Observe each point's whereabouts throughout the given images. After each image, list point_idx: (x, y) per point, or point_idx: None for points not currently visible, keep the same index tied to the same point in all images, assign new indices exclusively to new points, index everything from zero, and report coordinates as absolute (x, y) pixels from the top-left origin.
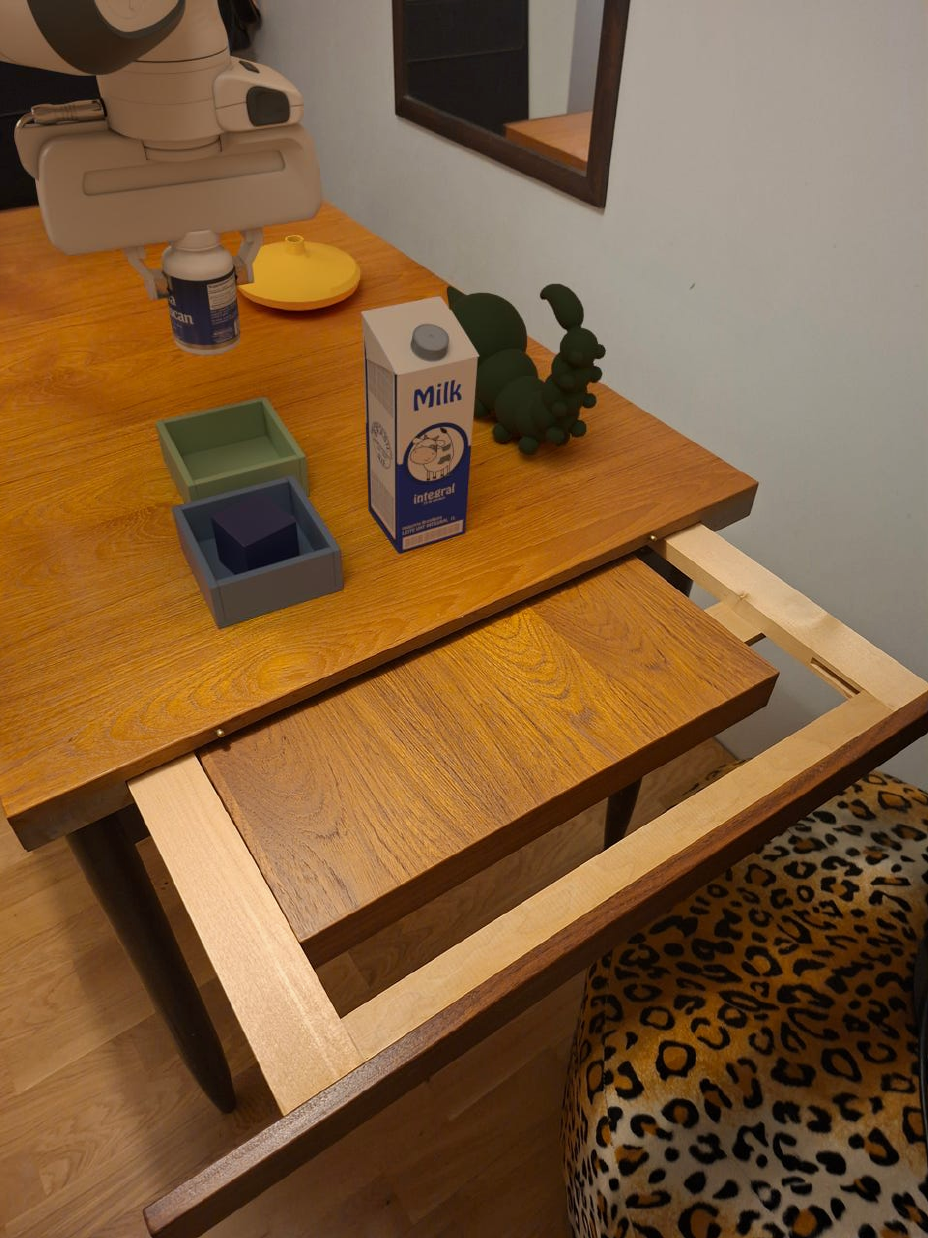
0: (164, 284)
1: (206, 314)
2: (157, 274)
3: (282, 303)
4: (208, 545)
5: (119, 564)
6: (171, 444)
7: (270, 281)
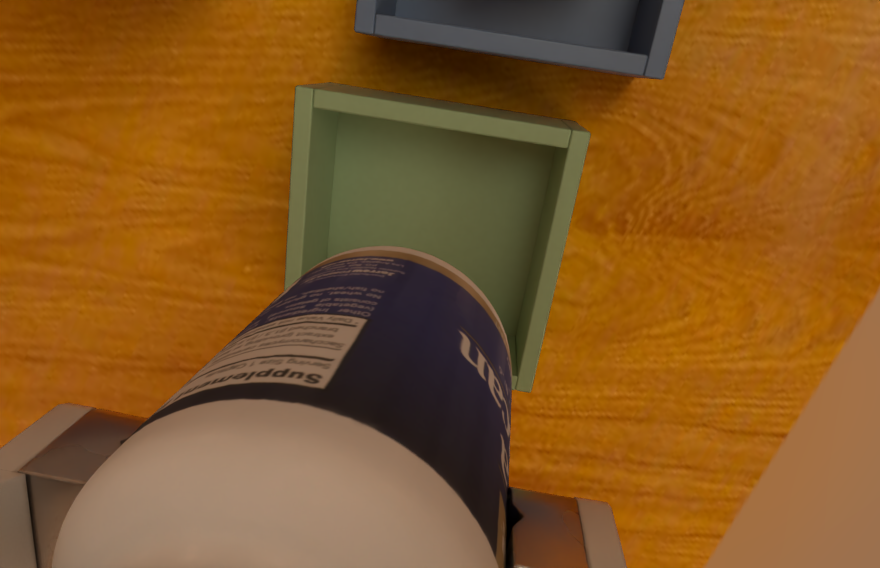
0: (532, 537)
1: (393, 316)
2: None
3: None
4: (594, 31)
5: (761, 99)
6: (541, 299)
7: None
